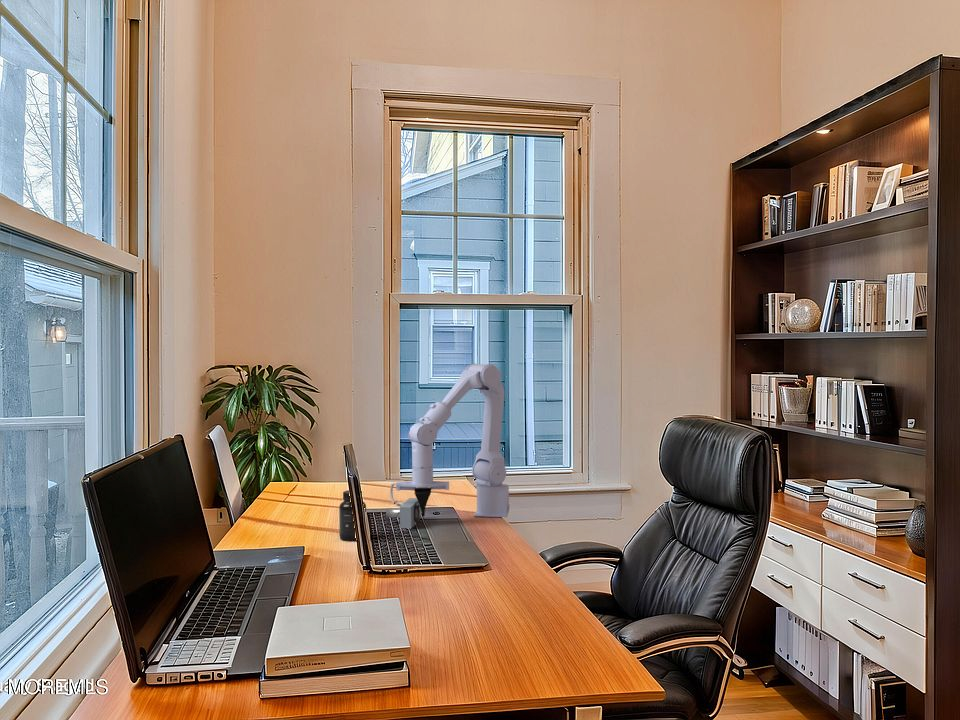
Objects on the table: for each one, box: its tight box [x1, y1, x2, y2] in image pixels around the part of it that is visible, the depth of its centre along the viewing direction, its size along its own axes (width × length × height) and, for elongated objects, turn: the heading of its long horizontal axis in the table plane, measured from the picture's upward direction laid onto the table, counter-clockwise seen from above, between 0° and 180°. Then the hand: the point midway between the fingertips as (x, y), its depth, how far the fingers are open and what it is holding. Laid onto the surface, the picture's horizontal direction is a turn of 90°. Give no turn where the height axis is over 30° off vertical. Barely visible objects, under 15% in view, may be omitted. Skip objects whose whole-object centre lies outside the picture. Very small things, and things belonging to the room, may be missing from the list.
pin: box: [385, 505, 422, 523], centre depth 203 cm, size 9×5×5 cm, turn 83°
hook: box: [389, 481, 404, 509], centre depth 223 cm, size 7×9×20 cm
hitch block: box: [399, 497, 419, 530], centre depth 203 cm, size 3×12×6 cm, turn 173°
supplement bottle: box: [338, 489, 367, 542], centre depth 188 cm, size 7×7×12 cm
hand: (423, 515), depth 202 cm, fingers closed
